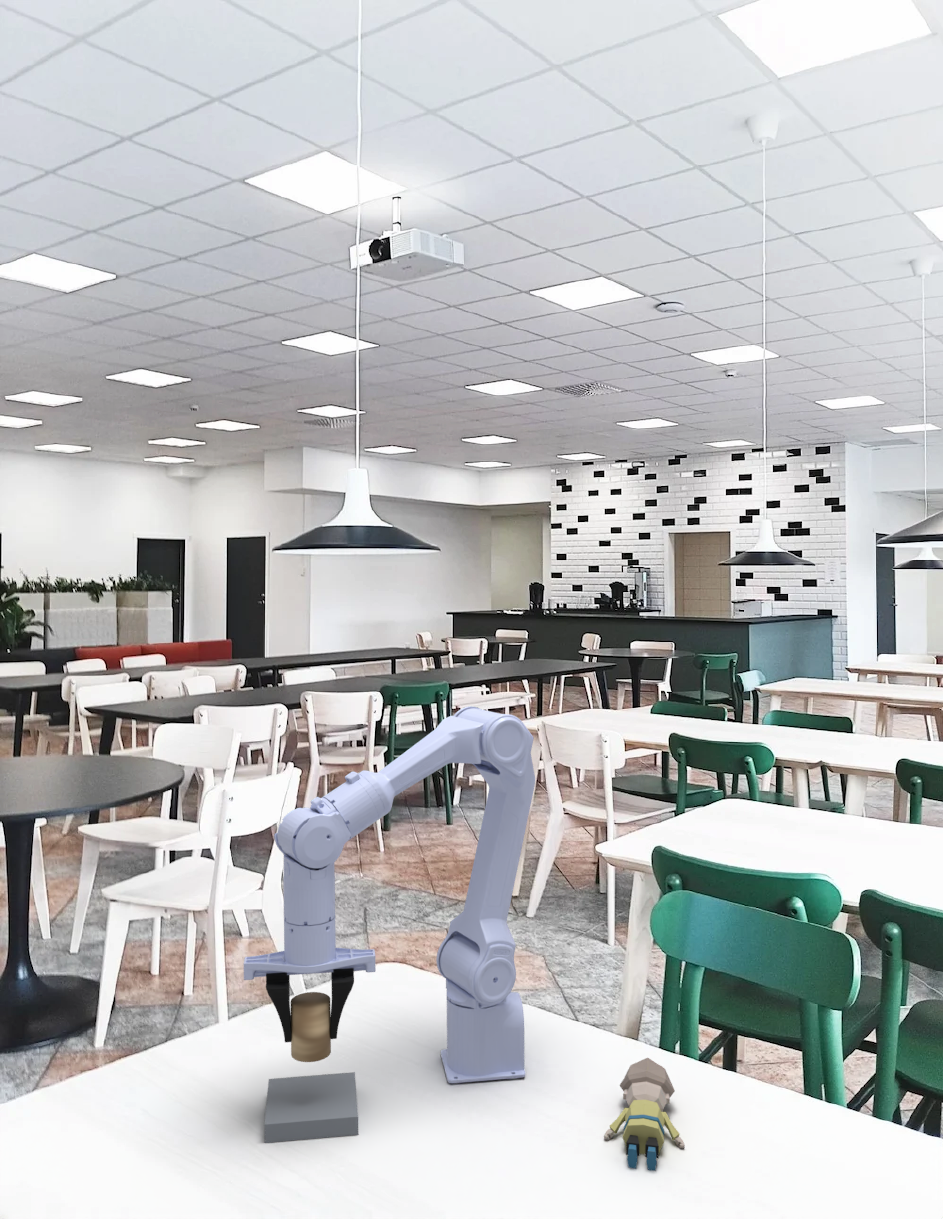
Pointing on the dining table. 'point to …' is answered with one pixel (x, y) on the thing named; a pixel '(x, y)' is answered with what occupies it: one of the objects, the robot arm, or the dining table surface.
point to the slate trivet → (311, 1107)
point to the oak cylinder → (310, 1027)
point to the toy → (645, 1112)
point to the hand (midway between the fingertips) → (311, 1036)
